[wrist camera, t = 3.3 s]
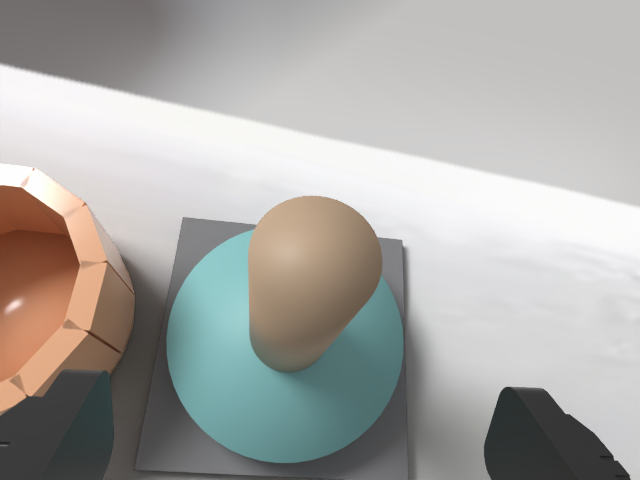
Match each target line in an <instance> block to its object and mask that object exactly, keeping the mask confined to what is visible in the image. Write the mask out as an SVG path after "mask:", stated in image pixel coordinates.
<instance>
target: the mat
mask: <svg viewBox="0 0 640 480" xmlns="http://www.w3.org/2000/svg"><path fill="white" fill-rule="evenodd" d="M256 226H257V225H253V224H243V223H234V222H224V221H214V220H205V219H195V218H186V217H183V220H182V225H181V230H180V235H179V240H178V246H177V251H176V256H175V261H174V266H173V271H172V277H171V282H170V287H169V292H168V297H167V302H166V308H165V313H164V318H163V323H162V328H161V333H160V339H159V344H158V349H157V354H156V359H155V365H154V370H153V375H152V380H151V385H150V390H149V396H148V401H147V406H146V411H145V416H144V421H143V427H142V432H141V437H140V442H139V447H138V452H137V458H136V463H135V468H134V470H148V471H170V472H191V473H213V474H235V475H256V476H278V477H299V478H321V479H342V480H408V443H407V404H406V365H405V327H404V288H403V249H402V240H397V239H388V238H378V237H377V238H378V241H379V244H380V247H381V251H382V260H383V264H382V273H381V275H382V276H383V278H384V279H385V281H386V283H387V284H388V286H389V288H390V290H391V292H392V294H393V296H394V298H395V301H396V304H397V307H398V310H399V313H400V318H401V322H402V328H403V340H404V345H403V360H402V365H401V371H400V375H399V378H398V381H397V384H396V387H395V389H394V392H393V394H392V396H391V398H390V400H389V402H388V404H387V405H386V407H385V408H384V410H383V412H382V413H381V415H380V416H379V417H378V418H377V419H376V421H375V422H374V423H373V424H372V425H371V427H370V428H368V429H367V430H366V431H365V432H364V433H363V434H362V435H361V436H360V437H358V438H357V439H356V440H354V441H353V442H351V443H350V444H348V445H347V446H345V447H344V448H342V449H340V450H338V451H336V452H334V453H331V454H329V455H326V456H323V457H320V458H317V459H314V460H309V461H303V462H297V463H274V462H266V461H260V460H256V459H253V458H249V457H246V456H243V455H241V454H239V453H236V452H234V451H232V450H230V449H228V448H226V447H225V446H223V445H221V444H220V443H218V442H217V441H215V440H214V439H213V438H211V437H210V436H209V435H208V434H207V433H206V432H204V431H203V430H202V429H201V428H200V427H199V426H198V424H197V423H196V422H195V421H194V420H193V419H192V417H191V416H190V415H189V413H188V412H187V410H186V409H185V407H184V406H183V404H182V403H181V401H180V399H179V396H178V394H177V392H176V390H175V388H174V385H173V382H172V378H171V375H170V372H169V366H168V360H167V343H166V337H167V329H168V321H169V318H170V314H171V310H172V306H173V304H174V301H175V299H176V296H177V294H178V292H179V290H180V288H181V286H182V285H183V283H184V281H185V279H186V278H187V277H188V275H189V274H190V273H191V271H192V270H193V269H194V267H195V266H196V265H197V264H198V263H199V262H200V261H201V260H202V259H203V258H204V257H205V256H206V255H207V254H208V253H210V252H211V251H212V250H213V249H215V248H216V247H217V246H219V245H220V244H222V243H224V242H225V241H227V240H228V239H230V238H233V237H235V236H237V235H239V234H241V233H244V232H247V231H250V230H253V229H255V228H256Z"/></svg>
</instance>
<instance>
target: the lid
mask: <svg viewBox="0 0 640 480" xmlns="http://www.w3.org/2000/svg"><path fill="white" fill-rule="evenodd" d="M382 264H383V260H382V251H381V247H380V244H379V241H378V238H377V236H376V234H375V232H374V230H373V229H372V227H371V226H370V224H369V223H368V222H367V221H366V220H365V218H364V217H363V216H361V215H360V214H359V213H358V212H357V211H356V210H354V209H353V208H351V207H350V206H348V205H346V204H344V203H342V202H340V201H337V200H334V199H331V198H327V197H321V196H303V197H297V198H293V199H290V200H287V201H285V202H283V203H280V204H279V205H277V206H275V207H274V208H272V209H271V210H270V211H269V212H267V213H266V214H265V216H264V217H263V218H262V219H261V220H260V221H259V223H258V224H257V226H256V228H255V229H253V230H250V231H247V232H244V233H241V234H239V235H237V236H235V237H233V238H230V239H228V240H227V241H225V242H224V243H222V244H220V245H219V246H217V247H216V248H215V249H213V250H212V251H211V252H210V253H208V254H207V255H206V256H205V257H204V258H203V259H202V260H201V261H200V262H199V263H198V264H197V265H196V266H195V267H194V269H193V270H192V271H191V273H190V274H189V275H188V277H187V278H186V279H185V281H184V283H183V285H182V286H181V288H180V290H179V292H178V294H177V296H176V299H175V301H174V304H173V306H172V310H171V314H170V318H169V321H168V329H167V337H166V343H167V360H168V366H169V372H170V375H171V378H172V382H173V385H174V388H175V390H176V392H177V394H178V396H179V399H180V401H181V403H182V404H183V406H184V407H185V409H186V410H187V412H188V413H189V415H190V416H191V417H192V419H193V420H194V421H195V422H196V423H197V424H198V426H199V427H200V428H201V429H202V430H203V431H204V432H206V433H207V434H208V435H209V436H210V437H211V438H213V439H214V440H215V441H217V442H218V443H220V444H221V445H223V446H225V447H226V448H228V449H230V450H232V451H234V452H236V453H239V454H241V455H243V456H246V457H249V458H253V459H256V460H260V461H266V462H274V463H297V462H303V461H309V460H314V459H317V458H320V457H323V456H326V455H329V454H331V453H334V452H336V451H338V450H340V449H342V448H344V447H345V446H347V445H348V444H350V443H351V442H353V441H354V440H356V439H357V438H358V437H360V436H361V435H362V434H363V433H364V432H365V431H366V430H367V429H368V428H370V427H371V425H372V424H373V423H374V422H375V421H376V419H377V418H378V417H379V416H380V415H381V413H382V412H383V410H384V408H385V407H386V405H387V404H388V402H389V400H390V398H391V396H392V394H393V392H394V389H395V387H396V384H397V381H398V378H399V375H400V371H401V365H402V360H403V345H404V340H403V328H402V322H401V318H400V313H399V310H398V307H397V304H396V301H395V298H394V296H393V294H392V292H391V290H390V288H389V286H388V284H387V283H386V281H385V279H384V278H383V276H382V275H381V273H382Z"/></svg>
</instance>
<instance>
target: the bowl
mask: <svg viewBox="0 0 640 480" xmlns="http://www.w3.org/2000/svg"><path fill="white" fill-rule="evenodd" d="M134 295H135V293H134V289H133V285H132V281H131V278H130V275H129V273H128V271H127V269H126V266H125V264H124V263H123V261H122V258H121V255H120V253H119V250H118V248H117V246H116V245H115V244H114V242H113V241H112V239H111V238H110V236H109V235H108V234H107V232H106V231H105V229H104V228H103V227H102V225H101V224H100V222H99V221H98V219H97V218H96V217H95V215H94V214H93V212H92V211H91V209H90V208H89V207H88V205H87V204H86V203H85V202H84V201H83V200H81V199H80V198H78V197H77V196H75V195H74V194H72V193H71V192H69V191H68V190H67V189H65V188H64V187H62V186H61V185H59V184H58V183H56V182H55V181H54V180H52V179H51V178H49V177H48V176H46V175H45V174H43V173H42V172H41V171H39V170H38V169H34V168H33V167H24V166H15V165H6V164H0V416H1V415H2V414H3V413H5V412H6V411H8V410H9V409H10V408H12V407H13V406H15V405H16V404H17V403H19V402H20V401H22V400H23V399H25V398H26V397H27V396H40V397H43V396H44V394H45V393H46V392H47V390H48V389H49V387H50V386H51V385H52V383H53V382H54V380H55V379H56V377H57V376H58V375H59V373H60V372H61V371H62V370H64V369H84V370H106V371H108V373H109V376H110V375H111V373H112V372H113V371H114V369H115V368H116V366H117V365H118V363H119V361H120V359H121V358H122V356H123V354H124V352H125V349H126V347H127V345H128V342H129V339H130V336H131V332H132V329H133V324H134V317H135V296H134Z"/></svg>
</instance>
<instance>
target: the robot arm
mask: <svg viewBox="0 0 640 480" xmlns="http://www.w3.org/2000/svg"><path fill="white" fill-rule="evenodd" d="M113 438H114V428H113V414H112V399H111V384H110V376H109V373H108V371H106V370H84V369H64V370H62V371H61V372H60V373H59V375H58V376H57V377H56V379H55V380H54V382H53V383H52V385H51V386H50V387H49V389H48V390H47V392H46V393H45V394H44V396H43V397H40V396H27V397H26V398H25V399H23V400H22V401H20V402H19V403H17V404H16V405H15V406H13V407H12V408H10V409H9V410H8V411H6V412H5V413H3V414H2V415H1V416H0V480H102V478H103V475H104V473H105V471H106V468H107V466H108V463H109V460H110V456H111V452H112V446H113ZM613 457H614V456H613V455H612V454H611V453H610V451H609V450H608V449H607V448H606V447H605V445H604V444H603V443H602V442H601V441H600V439H599V438H598V437H597V436H596V435H595V434H594V433H593V432H592V431H590V430H589V429H588V428H587V427H585V426H584V425H583V424H581V423H580V422H579V421H577V420H576V419H575V418H573V417H572V416H571V415H570V414H565V413H564V412H563V411H562V409H561V408H560V407H559V406H558V404H557V403H556V402H555V401H554V399H553V398H552V397H551V396H550V394H549V393H548V392H547V391H545V390H544V389H542V388H525V387H505V388H504V389H503V390H502V391H501V393H500V395H499V398H498V401H497V405H496V408H495V411H494V414H493V417H492V421H491V424H490V427H489V430H488V434H487V437H486V440H485V445H484V458H485V464H486V468H487V471H488V474H489V476H490V478H491V480H630V475H629V474H628V473H627V472H626V470H625V469H624V468H623V467H622V466H621V464H620V463H619V462H618V461H615V460H614V458H613Z"/></svg>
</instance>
